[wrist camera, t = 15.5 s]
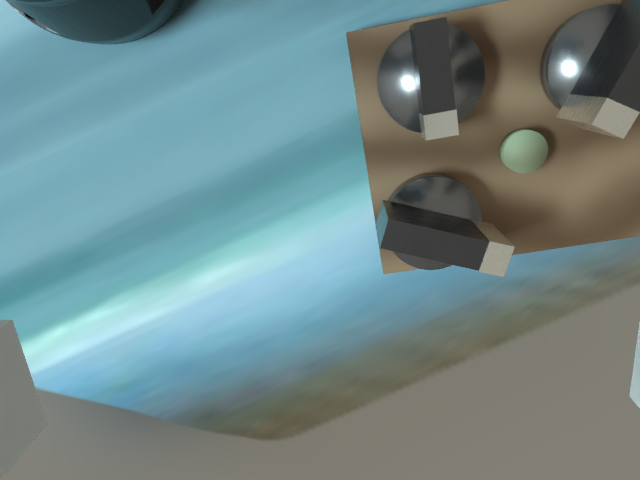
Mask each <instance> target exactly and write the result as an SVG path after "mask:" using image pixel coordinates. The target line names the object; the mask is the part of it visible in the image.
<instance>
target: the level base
mask: <svg viewBox="0 0 640 480" xmlns="http://www.w3.org/2000/svg"><path fill="white" fill-rule="evenodd" d="M621 2H622V0H506V1H501V2H496V3H491V4H487V5H482V6H477V7H472V8H467V9H462V10H457V11H452V12H447V13H442V14H437V15H432V16H427V17H422V18H417V19H412V20H407V21H402V22H397V23H392V24H387V25H382V26H377V27H372V28H367V29H362V30H357V31H352V32H347V33H346V35H347V42H348V48H349V55H350V61H351V68H352V74H353V80H354V87H355V93H356V100H357V106H358V113H359V119H360V126H361V132H362V139H363V145H364V152H365V158H366V164H367V171H368V177H369V184H370V190H371V197H372V203H373V210H374V216H375V223H376V222H377V219H378V215H379V211H380V207H381V204H382V200H387V201H388V199H389V197H390V196H391V194H392V193H393V191H394V190H395V189H396V188H397V187H398V186H399V185H400V184H402V183H403V182H405V181H406V180H408V179H410V178H412V177H415V176H417V175H421V174H427V173H438V174H444V175H447V176H450V177H452V178H454V179H456V180H458V181H459V182H460V183H462V184H463V185H464V186H465V187H466V188H467V189H468V190H469V191H470V192H471V193H472V194H473V195H474V197H475V198H476V200H477V202H478V204H479V207H480V210H481V215H482V222H487V223H491V224H493V225H494V226H495V227H496V228H497V229H498V230H499V231H500V232H501V233H502V234H503V235H504V236H505V237H506V238H507V239H508V240H509V241H510V243H511V244H512V245H513V246H514V247H515V248H514V251H513V253H512V255H515V254H522V253H529V252H535V251H542V250H549V249H555V248H562V247H569V246H575V245H582V244H589V243H596V242H602V241H609V240H616V239H622V238H629V237H636V236H640V113H639V115H638V116H637V118H636V120H635V121H634V123H633V125H632V126H631V128H630V129H629V131H628V133H627V134H626V136H625V138H624V139H622V138H618V137H614V136H609V135H605V134H601V133H597V132H592V131H588V130H584V129H581V128H579V127H577V126H575V125H572V124H570V123H568V122H566V121H563V120H561V119H559V118H557V117H556V116H557V114H558V113H559V111H560V110H559V109H558V108H556V107H555V106H554V105H553V104H552V103H551V102H550V101H549V99H548V98H547V96H546V94H545V93H544V90H543V87H542V84H541V79H540V63H541V58H542V54H543V51H544V49H545V46H546V44H547V42H548V41H549V39H550V37H551V36H552V34H553V33H554V32H555V30H556V29H557V28H558V27H559V26H560V25H561V24H562V23H563V22H565V21H566V20H567V19H569V18H570V17H572V16H573V15H575V14H577V13H579V12H581V11H584V10H587V9H590V8H594V7H597V6H602V5H606V4H620V3H621ZM442 17H447V24H450V25H453V26H455V27H457V28H459V29H461V30H463V31H464V32H465V33H467V34H468V35H469V36H470V37H471V38H472V39H473V41H474V42H475V43H476V45H477V46H478V48H479V50H480V52H481V55H482V58H483V61H484V67H485V81H484V87H483V91H482V94H481V96H480V99H479V101H478V103H477V105H476V106H475V108H474V109H473V110H472V112H471V113H470V114H469V115H468V116H467V117H466V118H465V119H464V120H463V121H462V122H460V123H459V124H458V129H459V135H455V136H449V137H444V138H438V139H432V140H427V141H426V140H425V139H424V138H422V137H421V133H419V132H414V131H411V130H409V129H406V128H404V127H403V126H401V125H399V124H398V123H397V122H396V121H395V120H393V119H392V118H391V117H390V116H389V114H388V113H387V112H386V110H385V109H384V107H383V105H382V103H381V101H380V98H379V95H378V91H377V72H378V67H379V64H380V61H381V59H382V56H383V54H384V53H385V51H386V49H387V48H388V47H389V45H390V44H391V43H392V42H393V41H394V40H395V39H396V38H397V37H398V36H400V35H401V34H402V33H404V32H405V31H407V30H408V29H410V28H409V26H410V25H412V24H413V23H417V22H422V21H427V20H432V19H437V18H442ZM639 112H640V111H639ZM377 236H378V235H377ZM378 242H379V240H378ZM379 248H380V245H379ZM380 255H381V261H382V267H383V273H384V274H388V273H395V272H402V271H408V270H415V269H419V268H416V267H413V266H410V265H408V264H406V263H405V262H403V261H402V260H400V259H399V258H398V257H397V256H396V255H395V254H394V253H393V251H390V250H386V249H381V248H380Z"/></svg>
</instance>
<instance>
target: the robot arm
mask: <svg viewBox="0 0 640 480" xmlns="http://www.w3.org/2000/svg"><path fill="white" fill-rule="evenodd" d="M6 1H7V2H8V3H9V4H10V5H11V6H12V7H13V8H15V9H16V10H17V11H18V12H19V13H20V14H22V15H23V16H24V17H26V18H27V19H28V20H30V21H31V22H33V23H34V24H36V25H38V26H39V27H41V28H43V29H45V30H47V31H49V32H51V33H53V34H56V35H58V36H61V37H64V38H67V39H71V40H75V41H81V42H87V43H95V44H119V43H126V42H130V41H133V40H136V39H139V38H142V37H144V36H146V35H148V34H150V33H152V32H153V31H155V30H156V29H158V28H159V27H161V26H162V25H163V24H164V23H166V22H167V21H168V20H169V19H170V18H171V17H172V16H173V14H174V13H175V12H176V11H177V10H178V8H179V7H180V6H181V4H182V3H183V1H184V0H6ZM630 397H631V399H632V400H633V401H634V402H635V403H636V404H637V406H638V407H639V408H640V323H639V331H638V338H637V345H636V353H635V360H634V367H633V375H632V382H631V389H630ZM46 425H47V422H46V419H45V417H44V413H43V410H42V407H41V404H40V401H39V398H38V395H37V392H36V389H35V386H34V383H33V380H32V377H31V374H30V371H29V368H28V365H27V362H26V359H25V356H24V353H23V350H22V347H21V344H20V341H19V338H18V335H17V332H16V329H15V326H14V323H13V320H2V321H0V480H2V479H3V477H4V476H5V475H6V474H7V472H8V471H9V470H10V469H11V468H12V466H13V465H14V464H15V463H16V462H17V460H18V459H19V458H20V457H21V455H22V454H23V453H24V452H25V451H26V449H27V448H28V447H29V446H30V445H31V443H32V442H33V441H34V440H35V438H36V437H37V436H38V435H39V434H40V432H41V431H42V430H43V429H44V427H45V426H46Z"/></svg>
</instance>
